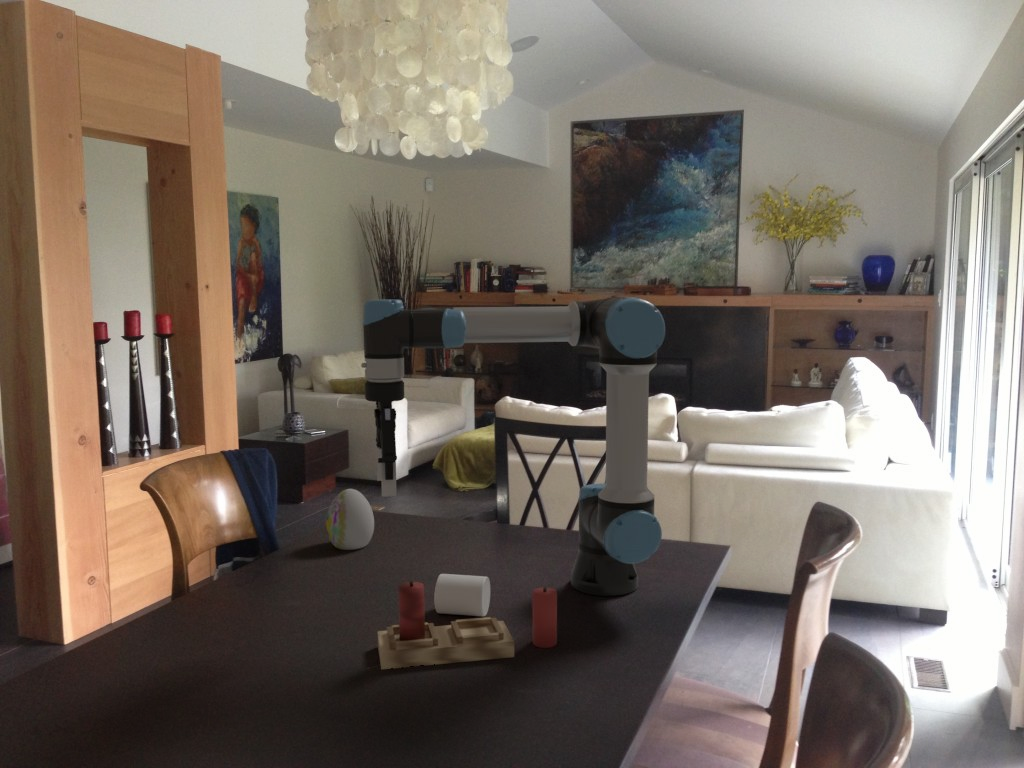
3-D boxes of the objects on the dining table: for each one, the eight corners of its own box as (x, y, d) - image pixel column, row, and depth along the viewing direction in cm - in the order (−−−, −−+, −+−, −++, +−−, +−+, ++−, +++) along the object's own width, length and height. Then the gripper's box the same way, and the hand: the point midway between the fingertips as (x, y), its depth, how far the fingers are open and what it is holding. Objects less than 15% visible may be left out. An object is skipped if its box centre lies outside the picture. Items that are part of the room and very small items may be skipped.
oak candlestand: (503, 635, 168) (502, 566, 166) (514, 657, 158) (514, 583, 157) (377, 646, 163) (376, 575, 161) (381, 669, 153) (379, 593, 152)
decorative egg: (326, 540, 231) (324, 485, 229) (372, 537, 234) (371, 482, 232) (327, 554, 219) (326, 496, 217) (376, 550, 222) (375, 493, 220)
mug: (481, 622, 175) (481, 584, 174) (434, 619, 177) (433, 581, 176) (494, 601, 186) (494, 565, 185) (450, 598, 188) (449, 562, 187)
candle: (553, 636, 167) (553, 582, 166) (559, 646, 163) (559, 590, 161) (530, 638, 166) (530, 584, 165) (535, 648, 162) (535, 592, 161)
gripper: (361, 373, 179) (364, 475, 181) (367, 387, 154) (370, 504, 157) (398, 372, 180) (400, 473, 183) (410, 386, 156) (412, 502, 158)
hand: (386, 487), depth 170 cm, fingers open, 13 cm apart
